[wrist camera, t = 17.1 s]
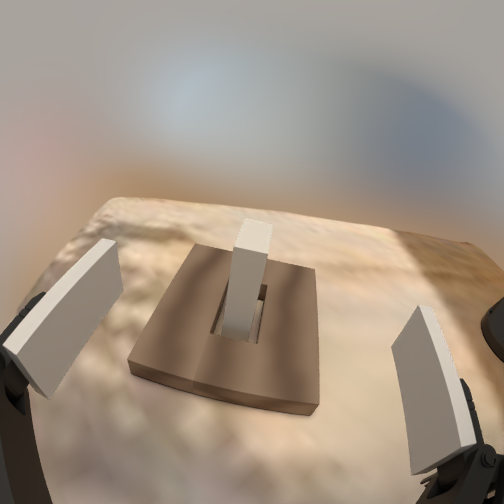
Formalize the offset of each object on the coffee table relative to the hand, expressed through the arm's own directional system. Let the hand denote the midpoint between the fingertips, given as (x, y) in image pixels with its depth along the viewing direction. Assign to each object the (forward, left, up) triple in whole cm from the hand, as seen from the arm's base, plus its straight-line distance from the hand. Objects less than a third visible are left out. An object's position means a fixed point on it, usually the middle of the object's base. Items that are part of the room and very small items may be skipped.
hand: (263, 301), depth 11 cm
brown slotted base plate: (+2, -15, -17) cm, 23 cm away
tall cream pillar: (+2, -15, -17) cm, 23 cm away
